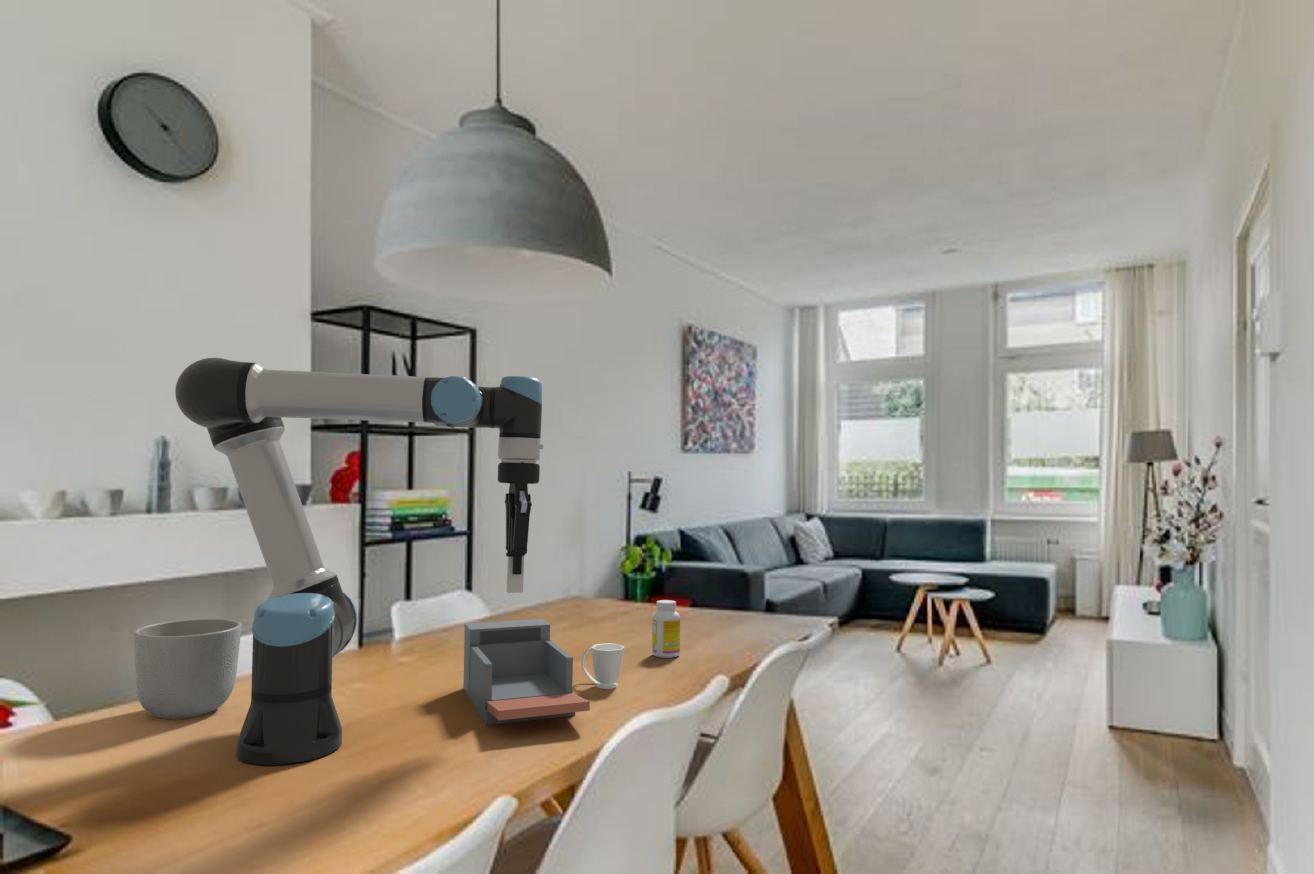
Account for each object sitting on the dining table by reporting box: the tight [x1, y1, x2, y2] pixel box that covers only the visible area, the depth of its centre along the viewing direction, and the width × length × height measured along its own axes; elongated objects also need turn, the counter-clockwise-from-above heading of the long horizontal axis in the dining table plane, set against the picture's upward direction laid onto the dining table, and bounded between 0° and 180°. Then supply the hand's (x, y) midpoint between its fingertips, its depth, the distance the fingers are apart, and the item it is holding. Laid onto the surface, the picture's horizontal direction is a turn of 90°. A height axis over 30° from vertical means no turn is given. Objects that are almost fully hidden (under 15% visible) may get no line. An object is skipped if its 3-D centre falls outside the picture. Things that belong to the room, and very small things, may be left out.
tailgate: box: [486, 692, 591, 720], centre depth 141 cm, size 16×2×10 cm
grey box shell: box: [462, 618, 551, 698], centre depth 164 cm, size 16×7×13 cm, turn 112°
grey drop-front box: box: [468, 639, 576, 726], centre depth 153 cm, size 16×18×10 cm
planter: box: [132, 618, 243, 720], centre depth 147 cm, size 17×17×15 cm
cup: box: [581, 642, 625, 690], centre depth 168 cm, size 7×10×8 cm
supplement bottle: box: [651, 599, 681, 659], centre depth 195 cm, size 7×7×13 cm
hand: (514, 591), depth 147 cm, fingers closed
